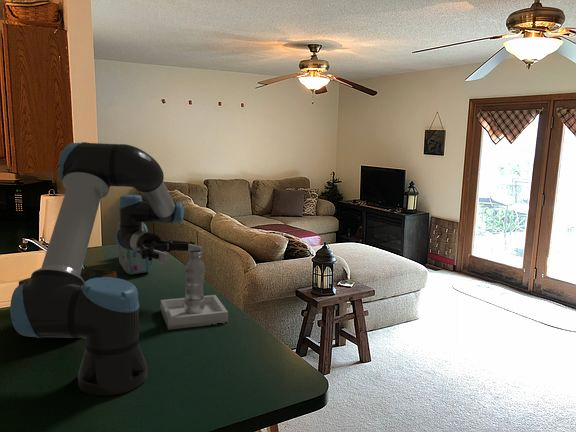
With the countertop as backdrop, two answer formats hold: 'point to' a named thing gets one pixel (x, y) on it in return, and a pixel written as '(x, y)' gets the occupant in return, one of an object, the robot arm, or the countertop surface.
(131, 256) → the lunch box
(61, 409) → the countertop surface
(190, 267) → the plastic bottle
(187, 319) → the tray
